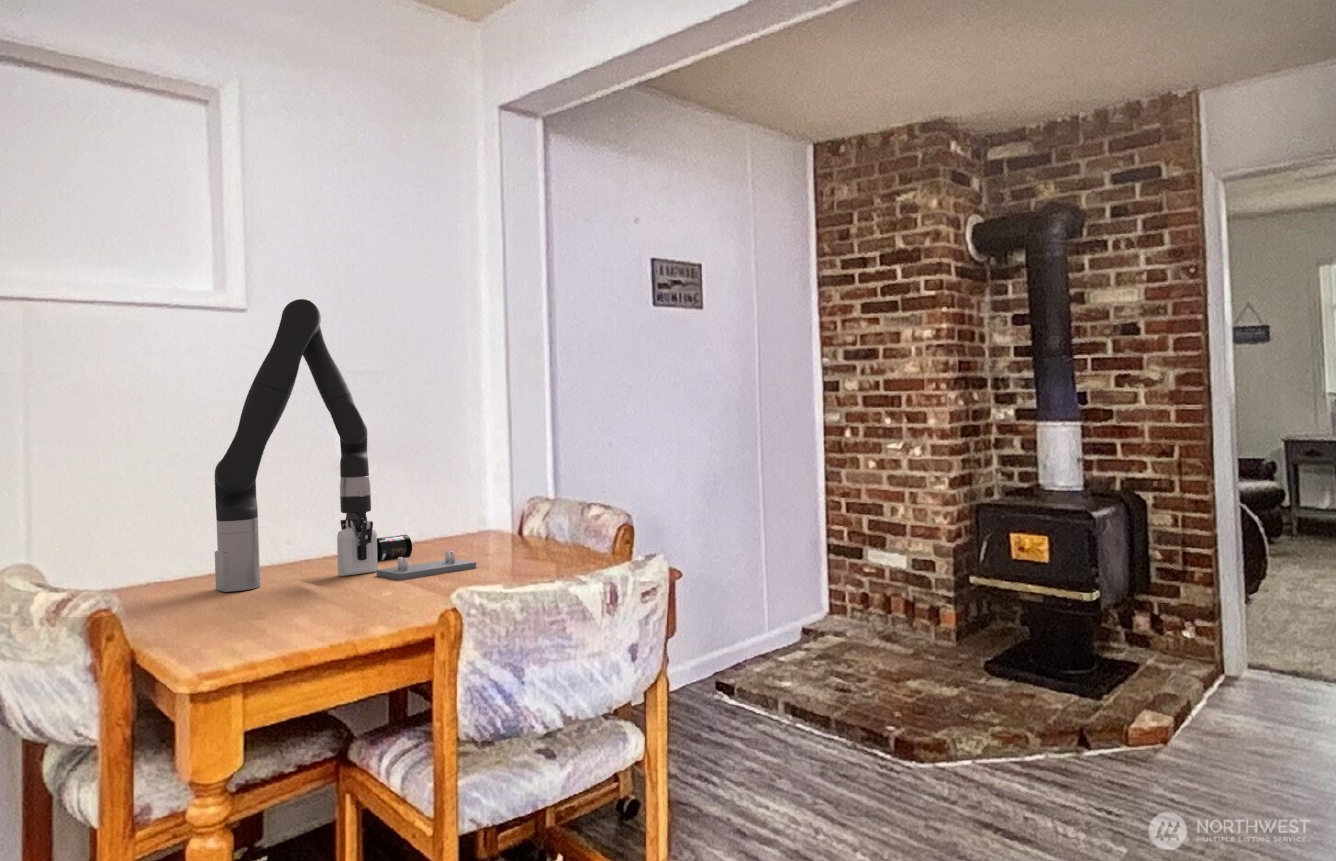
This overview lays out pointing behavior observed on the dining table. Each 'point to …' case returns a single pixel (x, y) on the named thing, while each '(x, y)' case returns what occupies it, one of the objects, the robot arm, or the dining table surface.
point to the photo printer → (355, 554)
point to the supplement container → (393, 547)
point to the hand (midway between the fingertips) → (357, 559)
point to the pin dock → (425, 567)
